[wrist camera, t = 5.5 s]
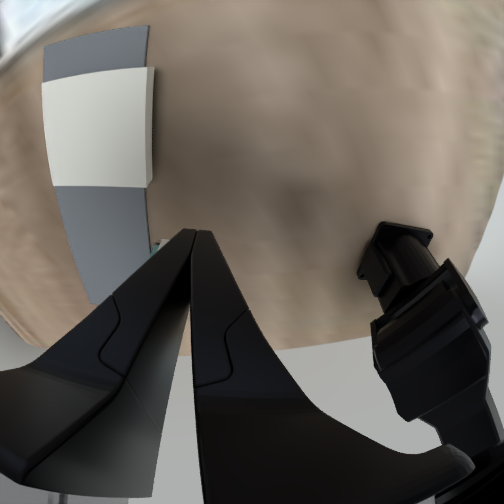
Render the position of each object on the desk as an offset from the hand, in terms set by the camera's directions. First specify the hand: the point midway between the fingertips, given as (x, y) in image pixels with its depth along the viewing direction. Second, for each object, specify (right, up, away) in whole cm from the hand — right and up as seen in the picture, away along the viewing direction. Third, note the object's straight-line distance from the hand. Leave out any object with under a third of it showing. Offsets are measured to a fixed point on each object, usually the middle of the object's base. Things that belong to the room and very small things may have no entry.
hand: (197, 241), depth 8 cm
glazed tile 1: (-5, +8, +7) cm, 12 cm away
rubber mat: (-11, +4, +12) cm, 17 cm away
